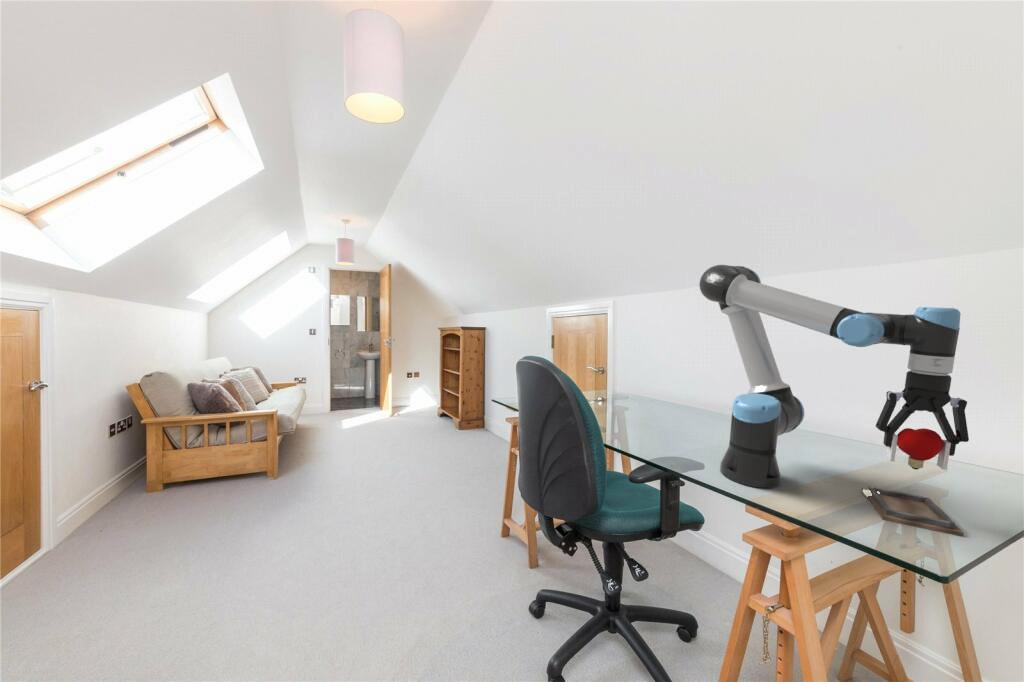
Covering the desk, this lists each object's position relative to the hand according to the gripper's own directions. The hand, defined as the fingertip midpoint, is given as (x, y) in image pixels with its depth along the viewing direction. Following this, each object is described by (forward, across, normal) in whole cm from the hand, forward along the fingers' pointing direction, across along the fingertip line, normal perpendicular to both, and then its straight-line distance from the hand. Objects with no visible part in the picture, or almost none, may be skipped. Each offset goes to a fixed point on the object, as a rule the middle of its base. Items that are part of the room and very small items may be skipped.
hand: (915, 463), depth 100 cm
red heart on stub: (+2, 0, 0) cm, 2 cm away
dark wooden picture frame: (+13, 0, 0) cm, 13 cm away
